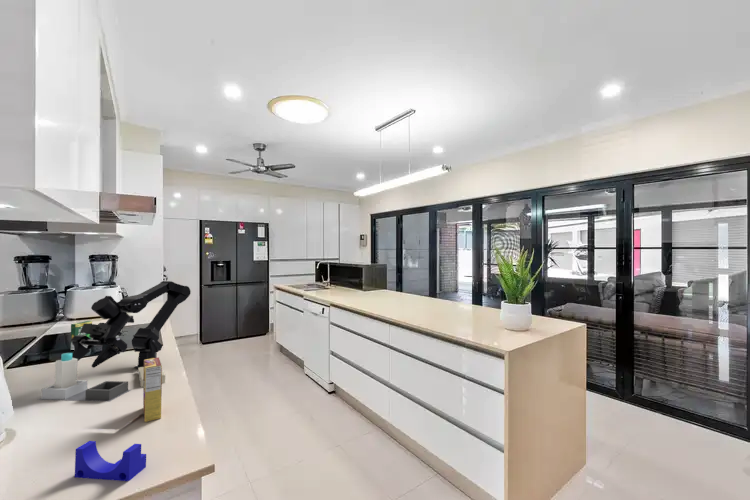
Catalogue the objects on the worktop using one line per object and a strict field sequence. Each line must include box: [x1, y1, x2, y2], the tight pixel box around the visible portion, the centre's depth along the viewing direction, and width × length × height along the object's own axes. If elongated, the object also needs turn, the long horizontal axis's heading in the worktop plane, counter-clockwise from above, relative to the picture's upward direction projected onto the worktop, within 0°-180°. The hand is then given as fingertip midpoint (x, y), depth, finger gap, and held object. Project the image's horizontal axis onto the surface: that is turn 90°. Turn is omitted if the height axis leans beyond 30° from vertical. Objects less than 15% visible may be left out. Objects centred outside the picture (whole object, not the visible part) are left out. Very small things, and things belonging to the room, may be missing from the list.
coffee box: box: [69, 320, 93, 351], centre depth 159 cm, size 8×3×13 cm, turn 169°
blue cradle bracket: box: [74, 440, 147, 482], centre depth 69 cm, size 12×4×6 cm, turn 86°
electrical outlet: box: [137, 367, 166, 388], centre depth 121 cm, size 7×4×18 cm
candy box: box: [142, 357, 163, 423], centre depth 95 cm, size 9×4×15 cm, turn 37°
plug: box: [54, 352, 79, 389], centre depth 106 cm, size 4×4×13 cm
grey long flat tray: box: [36, 379, 132, 403], centre depth 105 cm, size 9×23×4 cm, turn 89°
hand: (81, 366), depth 110 cm, fingers open, 9 cm apart
